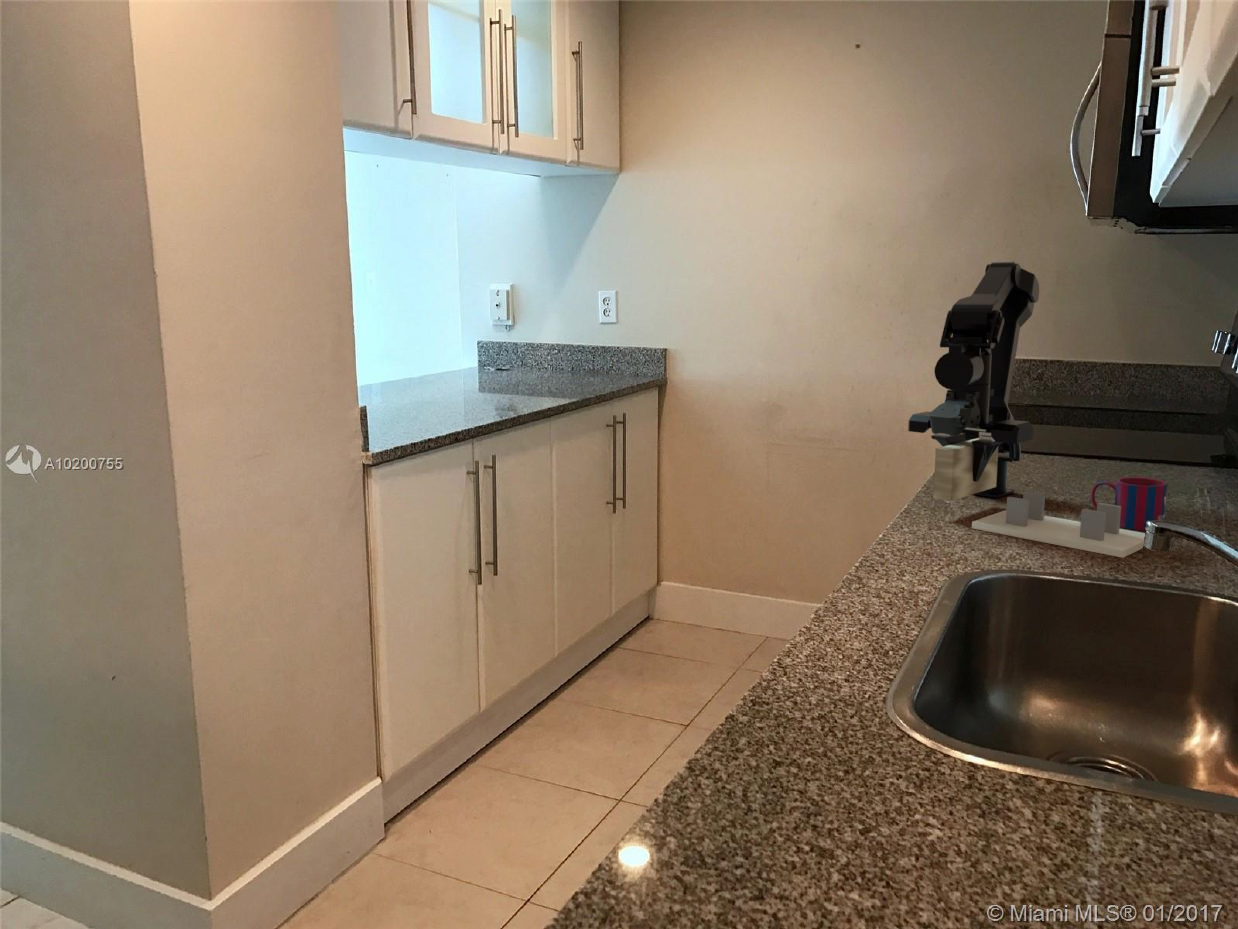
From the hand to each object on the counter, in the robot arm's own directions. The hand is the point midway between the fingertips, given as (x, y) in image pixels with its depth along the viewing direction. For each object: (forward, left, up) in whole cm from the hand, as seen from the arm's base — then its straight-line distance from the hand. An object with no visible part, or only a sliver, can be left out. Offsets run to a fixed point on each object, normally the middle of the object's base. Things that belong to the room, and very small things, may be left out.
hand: (966, 479), depth 154 cm
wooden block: (0, 0, -2) cm, 2 cm away
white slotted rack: (+3, +17, -5) cm, 18 cm away
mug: (-10, +21, -6) cm, 24 cm away
